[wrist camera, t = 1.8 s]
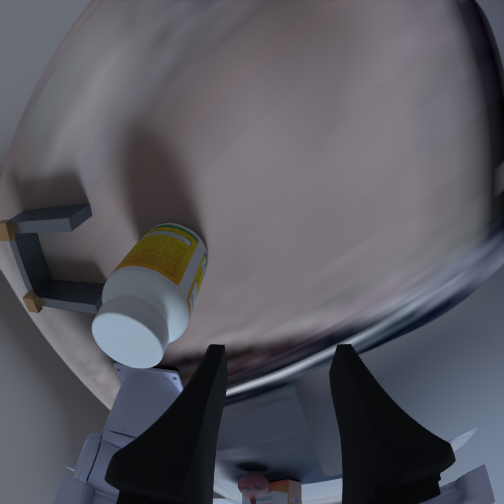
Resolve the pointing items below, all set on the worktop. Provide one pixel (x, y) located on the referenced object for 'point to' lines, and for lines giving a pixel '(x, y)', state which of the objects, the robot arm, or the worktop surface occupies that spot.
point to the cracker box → (280, 493)
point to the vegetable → (253, 485)
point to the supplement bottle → (151, 296)
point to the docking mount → (33, 263)
